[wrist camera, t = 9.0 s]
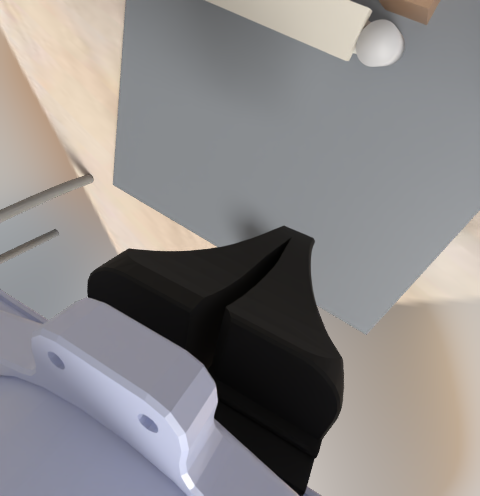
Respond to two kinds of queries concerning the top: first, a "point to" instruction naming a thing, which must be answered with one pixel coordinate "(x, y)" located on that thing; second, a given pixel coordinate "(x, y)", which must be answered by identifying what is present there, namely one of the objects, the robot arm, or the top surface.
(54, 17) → the top surface
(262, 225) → the flat gray panel
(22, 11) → the top surface
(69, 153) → the top surface
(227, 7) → the gate
